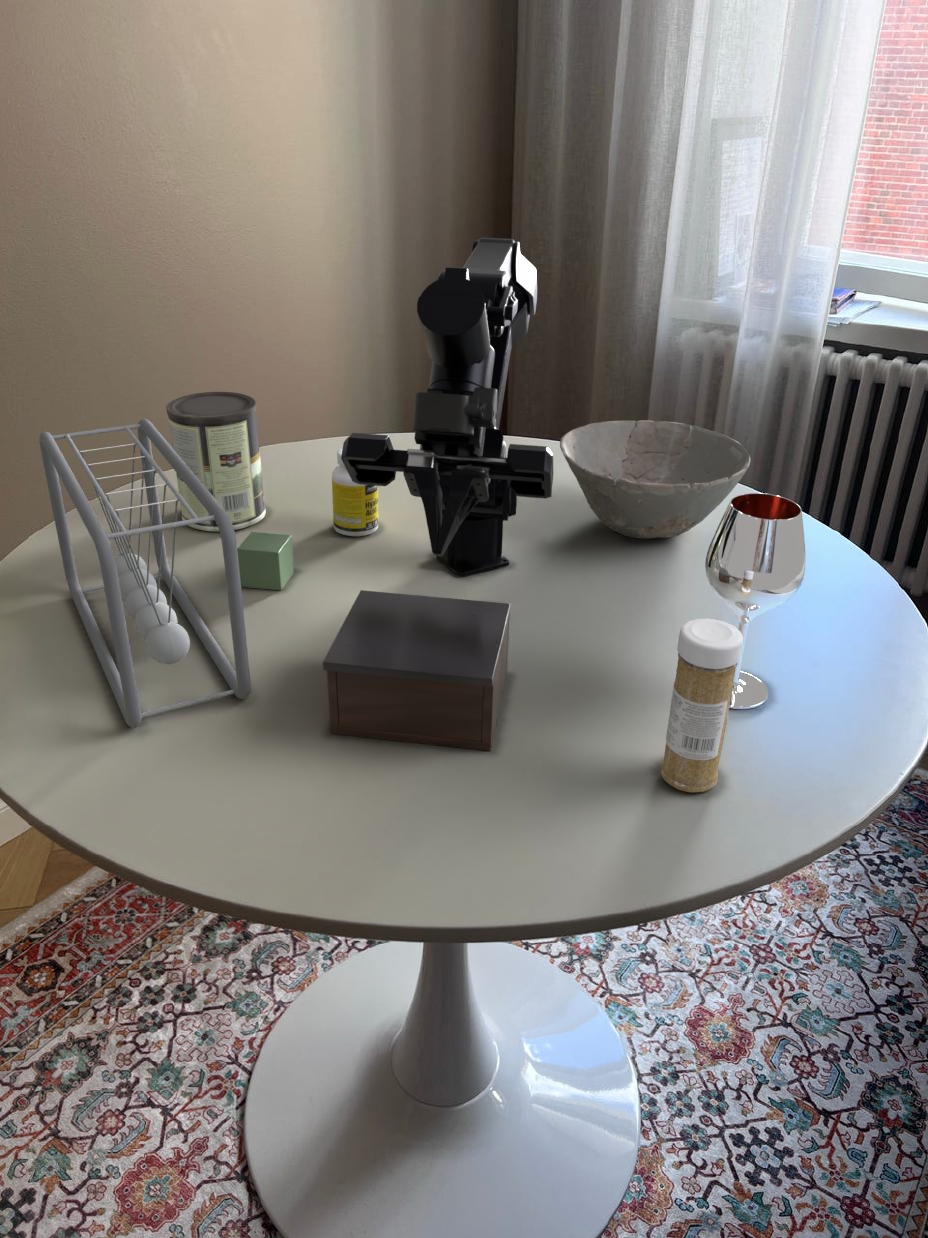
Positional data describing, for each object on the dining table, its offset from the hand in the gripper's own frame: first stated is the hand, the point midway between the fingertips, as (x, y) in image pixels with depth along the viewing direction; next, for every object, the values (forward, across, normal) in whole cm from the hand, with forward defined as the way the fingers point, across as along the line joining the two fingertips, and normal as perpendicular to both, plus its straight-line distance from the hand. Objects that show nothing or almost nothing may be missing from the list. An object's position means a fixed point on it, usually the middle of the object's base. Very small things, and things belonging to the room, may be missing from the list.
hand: (437, 554), depth 87 cm
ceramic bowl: (-17, +20, +34) cm, 43 cm away
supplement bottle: (-12, -15, +29) cm, 34 cm away
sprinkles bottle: (+17, +23, -1) cm, 29 cm away
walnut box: (+13, 0, +3) cm, 13 cm away
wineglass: (+8, +27, +9) cm, 30 cm away
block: (-2, -21, +18) cm, 28 cm away
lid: (+8, 0, -2) cm, 8 cm away
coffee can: (-12, -32, +29) cm, 45 cm away
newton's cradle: (+9, -28, +7) cm, 30 cm away
